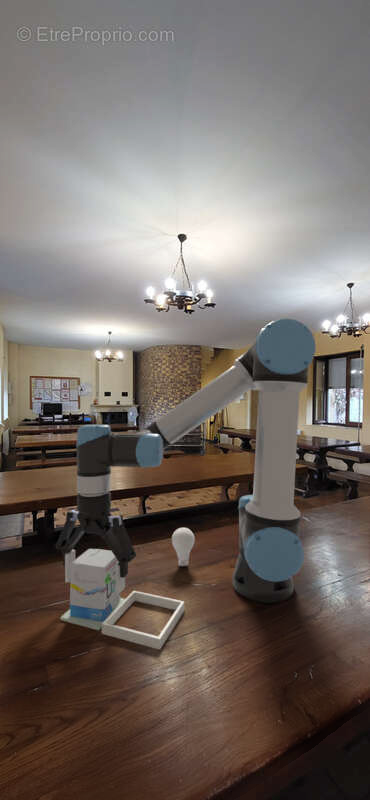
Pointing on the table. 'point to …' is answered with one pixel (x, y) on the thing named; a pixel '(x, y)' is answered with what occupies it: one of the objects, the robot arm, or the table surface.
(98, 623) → the mat
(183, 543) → the light bulb
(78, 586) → the ink box
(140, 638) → the tray rim
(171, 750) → the table surface
